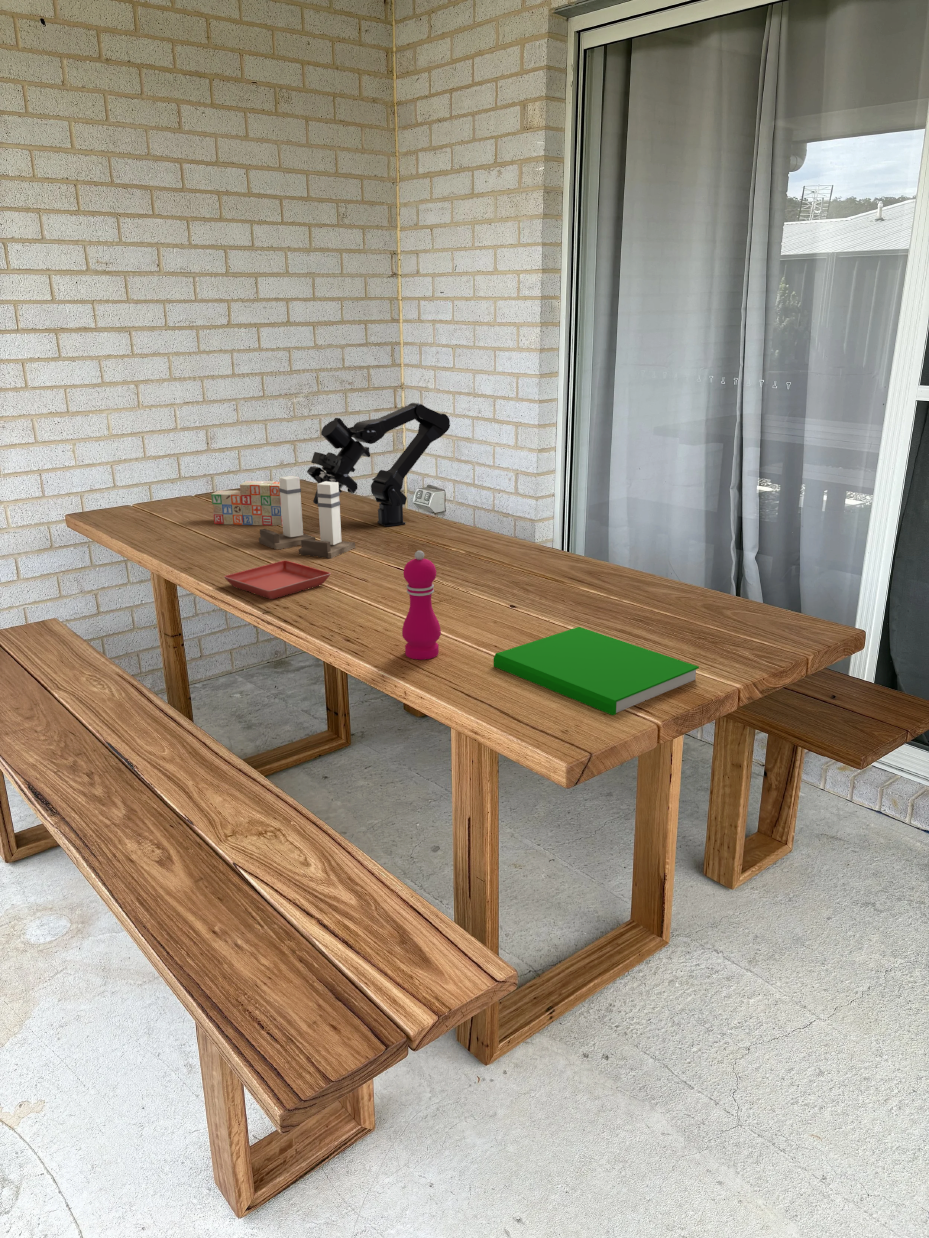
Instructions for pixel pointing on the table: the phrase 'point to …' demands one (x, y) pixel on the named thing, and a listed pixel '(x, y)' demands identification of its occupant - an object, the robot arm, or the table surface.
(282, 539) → the base
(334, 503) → the post
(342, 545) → the base
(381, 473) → the robot arm
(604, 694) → the book
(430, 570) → the pepper mill
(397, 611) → the table surface
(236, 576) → the plant saucer
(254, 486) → the stack of blocks
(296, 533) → the post
